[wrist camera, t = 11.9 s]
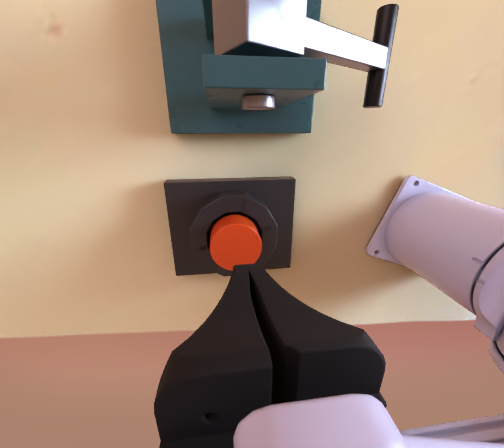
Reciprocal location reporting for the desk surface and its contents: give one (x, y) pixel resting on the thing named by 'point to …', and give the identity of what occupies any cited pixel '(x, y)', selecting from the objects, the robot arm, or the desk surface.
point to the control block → (223, 204)
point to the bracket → (232, 78)
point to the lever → (304, 38)
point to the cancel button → (235, 242)
